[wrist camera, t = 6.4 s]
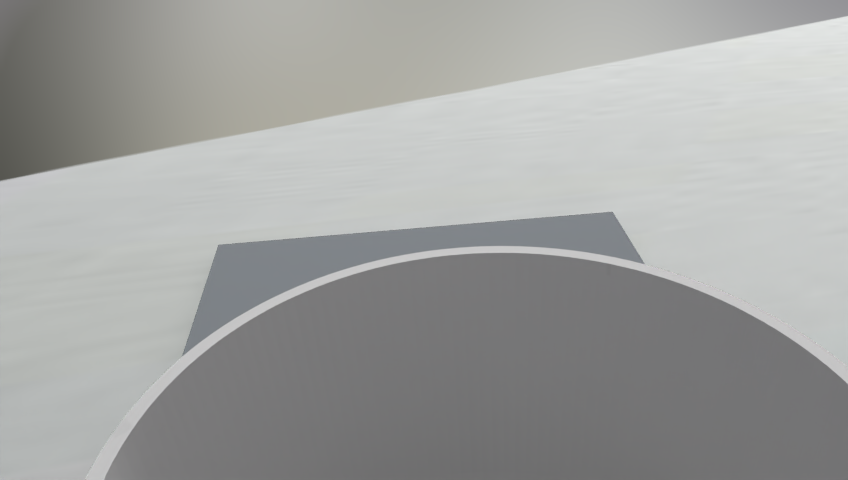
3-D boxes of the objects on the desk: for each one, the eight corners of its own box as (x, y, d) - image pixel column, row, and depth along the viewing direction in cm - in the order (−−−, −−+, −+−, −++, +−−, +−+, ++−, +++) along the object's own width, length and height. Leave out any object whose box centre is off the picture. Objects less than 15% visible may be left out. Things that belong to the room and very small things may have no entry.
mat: (118, 589, 18) (111, 573, 17) (221, 257, 31) (218, 244, 30) (788, 523, 18) (793, 506, 18) (611, 224, 31) (612, 211, 31)
